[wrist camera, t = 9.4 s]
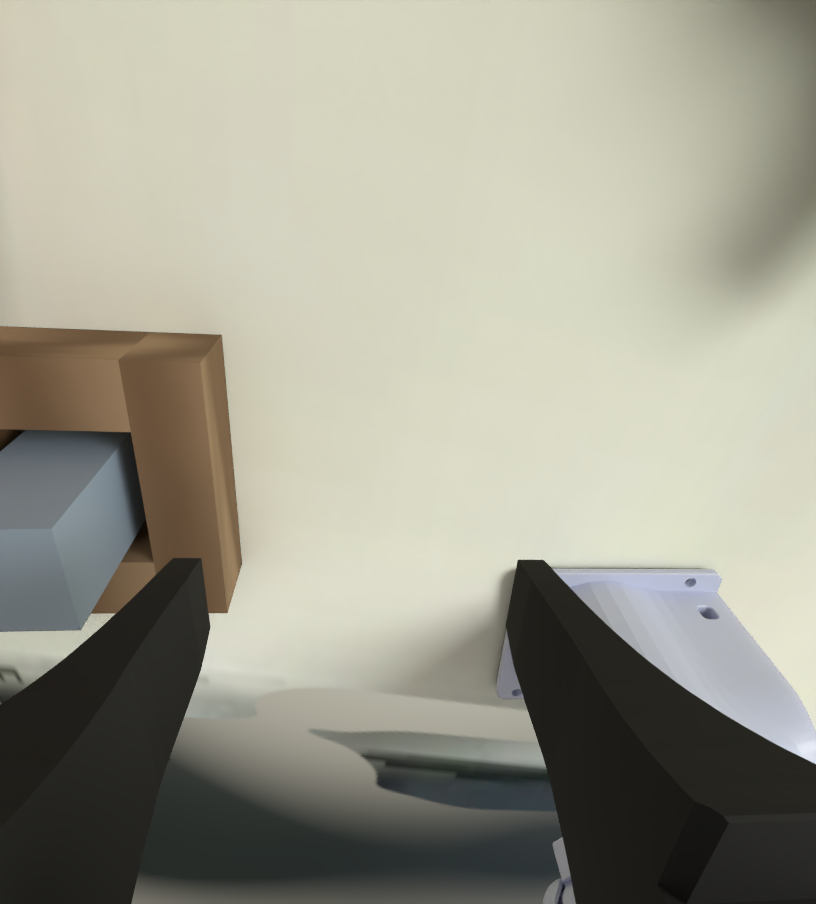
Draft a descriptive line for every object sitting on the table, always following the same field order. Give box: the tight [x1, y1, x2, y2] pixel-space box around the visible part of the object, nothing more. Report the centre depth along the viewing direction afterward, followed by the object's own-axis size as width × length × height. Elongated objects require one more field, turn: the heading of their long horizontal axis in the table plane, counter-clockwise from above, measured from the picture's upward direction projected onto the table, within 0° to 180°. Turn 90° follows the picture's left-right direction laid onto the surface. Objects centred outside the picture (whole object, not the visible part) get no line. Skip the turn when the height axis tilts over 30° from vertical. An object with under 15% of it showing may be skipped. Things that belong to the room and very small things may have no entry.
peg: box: [0, 430, 146, 632], centre depth 19 cm, size 4×4×7 cm
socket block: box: [0, 326, 242, 613], centre depth 21 cm, size 10×10×3 cm
